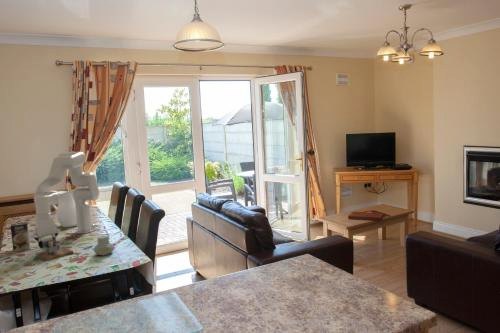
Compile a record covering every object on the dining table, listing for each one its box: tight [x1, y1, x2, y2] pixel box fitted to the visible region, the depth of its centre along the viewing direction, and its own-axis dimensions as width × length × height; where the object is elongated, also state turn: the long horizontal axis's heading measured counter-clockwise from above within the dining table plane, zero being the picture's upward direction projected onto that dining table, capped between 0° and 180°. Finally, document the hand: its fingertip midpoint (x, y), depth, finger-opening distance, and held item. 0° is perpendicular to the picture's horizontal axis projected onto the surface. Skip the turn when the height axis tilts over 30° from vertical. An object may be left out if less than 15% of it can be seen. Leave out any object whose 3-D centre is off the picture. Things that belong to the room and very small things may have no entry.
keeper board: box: [35, 242, 74, 262], centre depth 226 cm, size 16×14×8 cm
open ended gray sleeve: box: [40, 236, 60, 253], centre depth 225 cm, size 14×6×5 cm, turn 43°
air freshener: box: [93, 235, 115, 256], centre depth 223 cm, size 11×8×10 cm
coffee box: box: [10, 222, 31, 252], centre depth 241 cm, size 9×6×16 cm
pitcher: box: [47, 187, 77, 228], centre depth 295 cm, size 24×17×28 cm
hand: (47, 245), depth 228 cm, fingers closed on open ended gray sleeve, 6 cm apart
